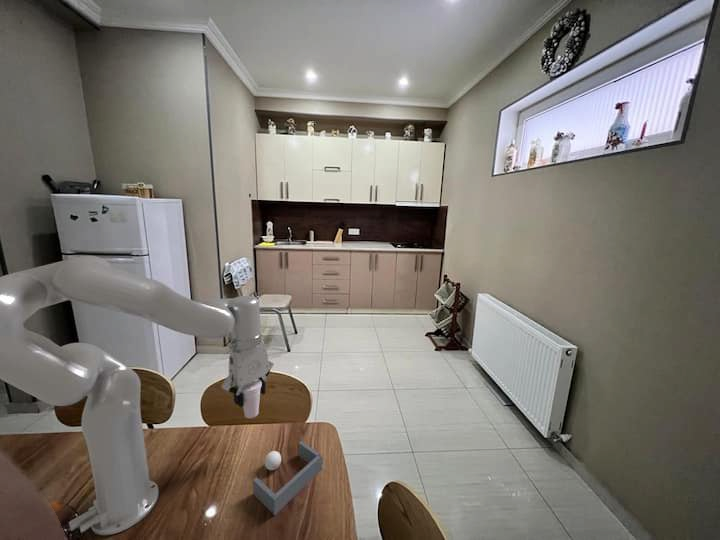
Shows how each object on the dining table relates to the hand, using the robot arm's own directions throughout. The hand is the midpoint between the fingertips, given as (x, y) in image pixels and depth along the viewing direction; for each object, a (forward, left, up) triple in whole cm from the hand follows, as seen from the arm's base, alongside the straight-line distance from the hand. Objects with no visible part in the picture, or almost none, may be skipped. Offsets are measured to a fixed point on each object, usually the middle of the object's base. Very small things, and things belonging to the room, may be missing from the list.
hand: (250, 398), depth 82 cm
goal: (0, -16, -18) cm, 24 cm away
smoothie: (0, 0, -5) cm, 5 cm away
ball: (0, -9, -16) cm, 18 cm away
